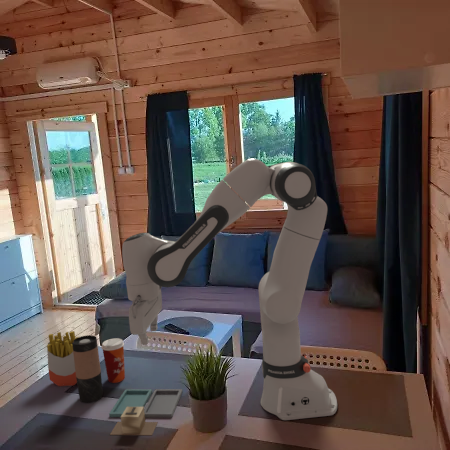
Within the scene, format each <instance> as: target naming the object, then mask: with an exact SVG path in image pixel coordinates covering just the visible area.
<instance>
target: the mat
mask: <svg viewBox="0 0 450 450" xmlns="http://www.w3.org/2000/svg"><path fill="white" fill-rule="evenodd" d="M158 424H159V422H158V421H145V425H144V427H143V429H142V431H141V433H140V434H123V433H122V424H121V421H117V422H116V423H115V425H114V427H113V429H112V430H111V432H110V434H109V436H148V437H149V436H153V435H154V432H155V430H156V427H157V425H158Z"/></svg>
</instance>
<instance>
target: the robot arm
mask: <svg viewBox="0 0 450 450" xmlns="http://www.w3.org/2000/svg"><path fill="white" fill-rule="evenodd" d="M315 179H316V178H315V177H314V173H313V172H312V171H311V170H310V169H309V168H308V167H307V166H306V165H304V164H301V163H298V162H293V161H286V162H284V161H282V162H278V163H274V164H271V165H267V164H266V163H264V162H263V161H261V160H260V159H257V158H251V157H250V158H247V159H246V160H244V161H242V162H241V163H240V164H239V165H236V167H235V168H233V169H232V170H231V171H230V172H229V173H228V174H226V175H225V176H224V177H223V178H222V179H220V181H219V182H218V183H217V185H216V186H215V187H214V188H213V189H212V190H211V192H210V193H209V196H208V197H207V198H206V201H205V203H204V206H203V208H202V209H201V210H202V211H201V213H200V214H199V216H198V218H197V219H196V220H195V221H194V223H192V225H191V226H190V227H189V228H188V229H187V230H185V232H184V233H182V235H181V236H180V237H179V238H178V239H177V240H176V241H173V240H167V239H163V238H159V237H156V236H154V235H151V233H149V232H140V233H136V234H133V235H131V236H129V237H127V238H126V239H125V240H124V241H123V243H122V249H121V252H122V253H121V254H122V256H121V257H122V264H123V265H122V266H123V269H124V271H125V275H126V278H125V285H126V292H127V298H128V300H129V301H131V303H132V304H131V305H130V306H129V308H128V324H129V332H130V333H131V335H134V336H135V335H136V336H138V337H139V338H138V339H140V344H141V346H147V345H148V344H149V341H150V340H149V336H148V334H147V332H148V331H147V330H148V328H149V327H150V328H149V329H150V332H156V331H157V330H158V319H159V316H158V315H159V313H160V312H161V311H162V309H163V297H162V295H163V294H162V288H172V287H176V286H177V285H179V284H181V282H182V281H183V280H184V279H185V277H186V275H187V272H188V269H189V266H190V264H191V263H192V262H193V260H194V259H195V258H196V257H197V255H199V253H201V252H202V251H203V249H204V248H205V247H206V246H208V244H209V243H210V242H212V240H213V239H214V238H215V237H216V236H217V235H218V234H219V233H221V232H222V231H224V230H225V229H226V228H227V227H229V226H230V225H232V224H233V223H235V222H236V221H237V220H238V219H239V218H242V216H243V215H245V213H247V212H248V211H249V210H250V209H251V208H252V206H255V205H254V204H256V203H257V201H258V200H260V199H262V198H263V197H265V196H267V195H271V196H273V197H275V199H277V200H278V201H281V202H283V203H285V204H286V206H287V214H286V218H285V221H284V223H283V226H282V229H281V231H280V234H279V237H278V239H277V243H276V245H275V248H274V251H273V255H272V260H271V263H270V267H269V271H268V272H266V273H265V274H264V275H263V276H262V277H261V279H260V280H259V283H258V299H259V300H258V302H259V303H258V304H259V312H260V313H259V314H260V324H261V325H260V326H261V338H262V355H263V356H262V360H261V370H262V372H261V373H262V376H263V387H262V394H261V398H260V405H261V407H262V409H264V410H265V411H266V412H267V413H270V414H272V415H275V416H276V417H278V418H279V420H282V421H290V420H299V419H300V420H301V419H310V418H318V417H327V416H328V417H330V416H334V414H336V412H337V410H338V400H337V397H336V394H335V393H334V391H333V390H332V389H330V388H329V387H328V384H327V382H326V380H325V378H324V377H323V376H322V375H321V374H320V373H317V372H316V371H315V370H312V368H311V366H310V364H309V361H308V359H307V356H306V355H304V356H303V355H302V351H301V331H300V325H299V317H298V316H299V315H300V312H301V308H302V302H303V299H304V295H305V292H306V291H305V290H306V287H307V282H308V279H309V275H310V270H311V266H312V263H313V260H314V257H315V254H316V252H317V249H318V246H319V243H320V241H321V238H322V235H323V233H324V232H323V231H324V229H325V224H326V221H327V215H328V205H327V203H326V202H325V201H324V200H323V198H321V197H319V196H318V194H317V189H316V188H317V187H316V180H315Z"/></svg>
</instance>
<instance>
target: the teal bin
mask: <svg viewBox="0 0 450 450" xmlns="http://www.w3.org/2000/svg"><path fill="white" fill-rule="evenodd" d="M152 394H153V389H151V388H150V389H144V388H138V389H137V388H133V389H131V388H129V389H128V388H126V389H124V391H123V392H122V393H121V395H120V397H119V398H118V400H117V401H116V403H115V404H114V406H113V407H112V409H111V410H110V411H109V413H108V415H109V418H121V416H122V414H123V412H124V411H125V409H126V407H144V408H145V407H146V405H147V403H148V401H149V400H150V398H151V396H152Z"/></svg>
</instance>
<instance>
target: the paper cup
mask: <svg viewBox="0 0 450 450" xmlns="http://www.w3.org/2000/svg"><path fill="white" fill-rule="evenodd" d="M124 345H125V342H124V340H123V339H122V338H119V337H117V338H116V337H115V338H110V339H107V340H104V341H103V342H102V345H101V350H102V353H103V359H104V365H105V371H106V375H107V381H108V382H109V383H111V384H117V383H120V382H123V381H124V380H125V379H126V378H125V377H126V375H125V372H126V371H125V370H126V369H125V351H124Z"/></svg>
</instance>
